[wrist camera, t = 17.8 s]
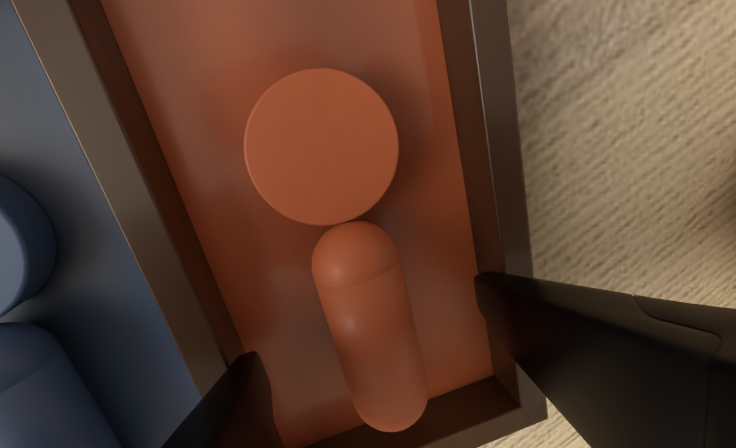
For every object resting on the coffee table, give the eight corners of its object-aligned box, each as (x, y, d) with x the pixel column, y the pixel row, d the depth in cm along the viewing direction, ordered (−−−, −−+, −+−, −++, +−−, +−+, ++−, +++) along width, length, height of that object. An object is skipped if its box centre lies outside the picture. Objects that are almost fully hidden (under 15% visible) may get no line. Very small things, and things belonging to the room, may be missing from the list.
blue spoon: (184, 464, 10) (161, 545, 8) (57, 511, 9) (2, 609, 8) (8, 140, 7) (-91, 148, 5) (-184, 185, 7) (-365, 210, 5)
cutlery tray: (6, 565, 10) (-57, 666, 8) (-473, 9, 6) (-837, -45, 4) (508, 374, 12) (549, 419, 10) (437, -137, 8) (486, -216, 6)
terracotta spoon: (438, 372, 11) (470, 424, 9) (334, 410, 10) (346, 473, 9) (370, 58, 8) (397, 40, 6) (226, 92, 8) (208, 83, 6)
